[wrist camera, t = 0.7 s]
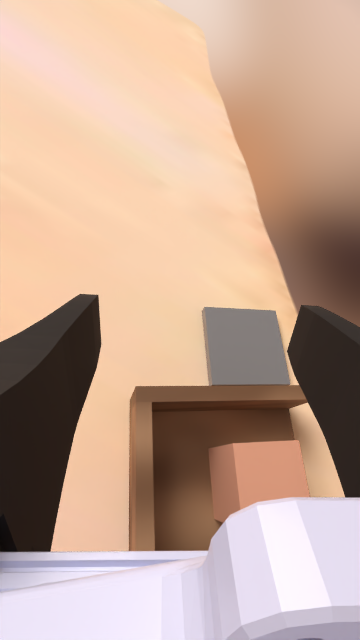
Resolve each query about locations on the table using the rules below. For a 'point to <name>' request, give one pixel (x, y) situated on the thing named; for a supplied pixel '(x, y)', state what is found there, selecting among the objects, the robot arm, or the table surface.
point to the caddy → (192, 454)
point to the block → (255, 474)
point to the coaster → (244, 348)
